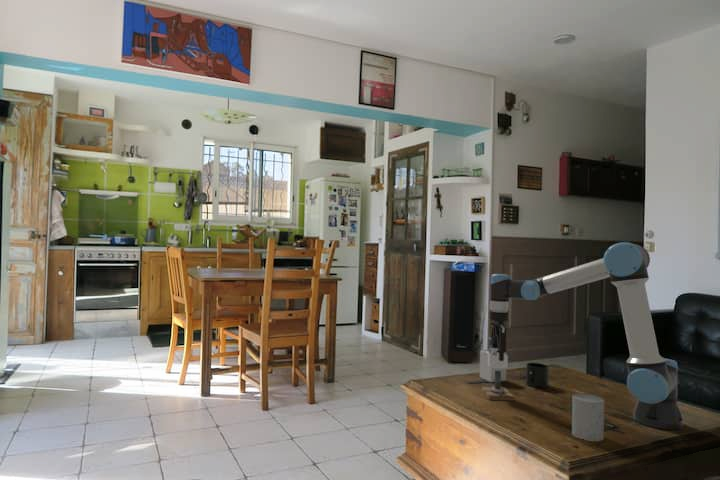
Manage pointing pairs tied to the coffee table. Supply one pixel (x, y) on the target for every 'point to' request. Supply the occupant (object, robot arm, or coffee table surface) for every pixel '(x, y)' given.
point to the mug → (537, 375)
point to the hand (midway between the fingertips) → (497, 365)
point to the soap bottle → (487, 371)
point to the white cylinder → (588, 417)
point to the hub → (493, 360)
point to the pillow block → (497, 390)
